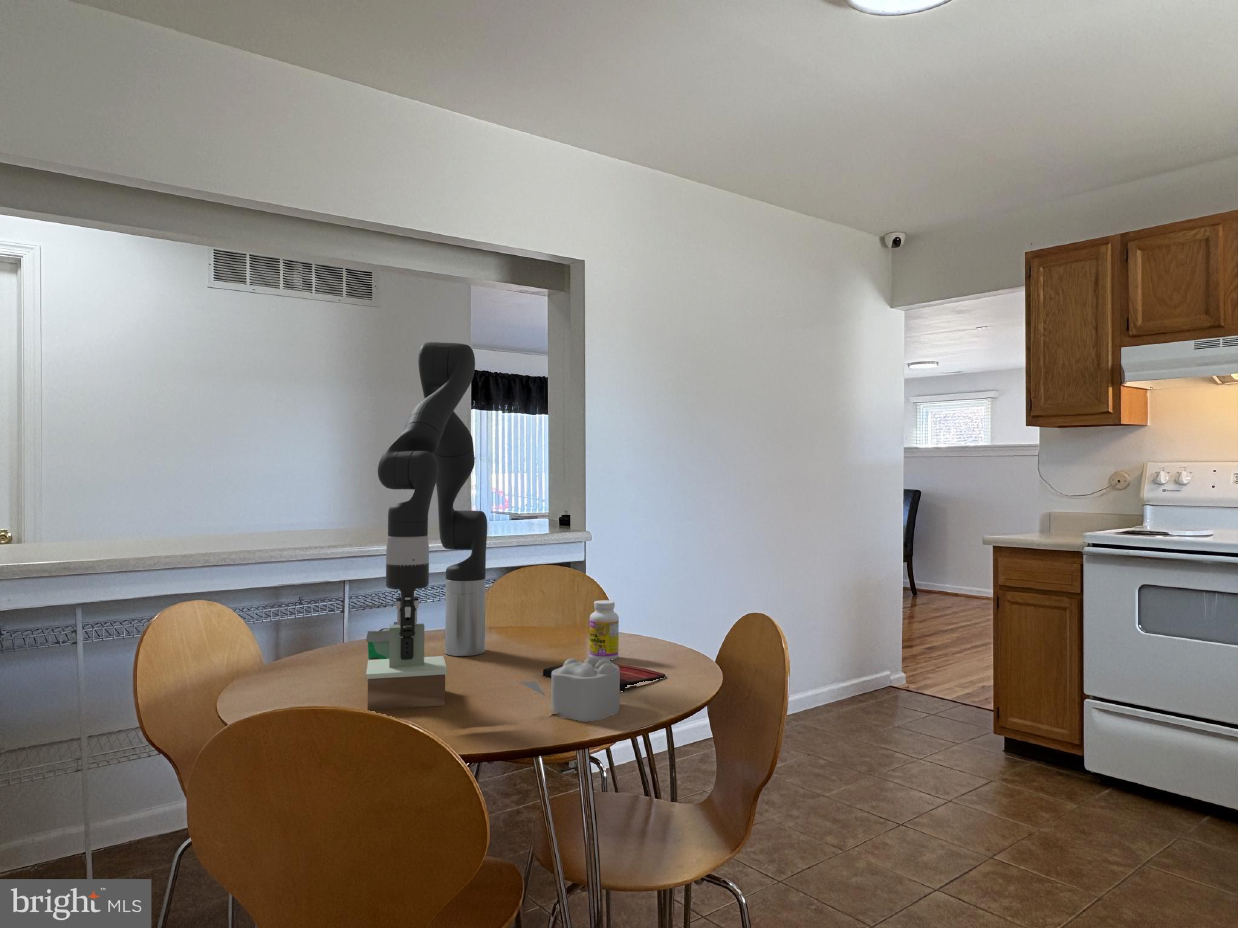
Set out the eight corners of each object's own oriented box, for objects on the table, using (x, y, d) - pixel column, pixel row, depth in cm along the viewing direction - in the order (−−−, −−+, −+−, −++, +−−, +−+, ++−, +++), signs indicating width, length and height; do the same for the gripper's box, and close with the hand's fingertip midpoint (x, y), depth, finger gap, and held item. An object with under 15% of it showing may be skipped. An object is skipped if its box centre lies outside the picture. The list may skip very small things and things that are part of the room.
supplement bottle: (583, 658, 184) (583, 601, 185) (603, 653, 189) (603, 598, 190) (604, 662, 180) (604, 604, 180) (624, 658, 185) (624, 601, 185)
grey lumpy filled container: (543, 714, 140) (543, 663, 140) (585, 697, 151) (585, 650, 151) (593, 723, 134) (593, 671, 135) (633, 705, 145) (633, 657, 146)
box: (369, 698, 149) (369, 664, 149) (441, 693, 153) (441, 660, 153) (367, 714, 139) (367, 678, 139) (444, 709, 142) (445, 673, 142)
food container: (394, 683, 161) (394, 632, 161) (365, 681, 162) (366, 631, 162) (421, 669, 173) (421, 622, 173) (394, 667, 174) (395, 621, 174)
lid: (367, 669, 150) (368, 621, 150) (443, 665, 153) (443, 618, 154) (365, 684, 138) (366, 633, 139) (447, 679, 142) (447, 629, 142)
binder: (624, 682, 155) (542, 667, 167) (623, 694, 154) (541, 679, 167) (670, 670, 167) (590, 657, 180) (669, 682, 167) (590, 668, 180)
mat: (464, 687, 157) (464, 685, 157) (535, 683, 161) (535, 681, 161) (470, 706, 144) (470, 704, 144) (548, 701, 148) (548, 699, 148)
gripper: (430, 564, 141) (429, 664, 140) (427, 557, 154) (426, 648, 154) (385, 565, 139) (384, 666, 138) (386, 558, 152) (385, 650, 152)
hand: (406, 656), depth 146 cm, fingers closed on lid, 3 cm apart
